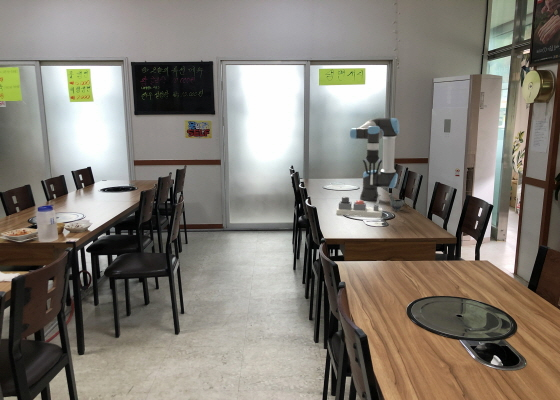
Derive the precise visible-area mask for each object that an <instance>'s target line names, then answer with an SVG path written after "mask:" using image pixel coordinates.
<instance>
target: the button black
mask: <svg viewBox="0 0 560 400" xmlns="http://www.w3.org/2000/svg"><path fill="white" fill-rule="evenodd" d="M341 201H342V203H347V204H349V202H350V197H348V196H342V197H341Z"/></svg>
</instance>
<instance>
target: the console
mask: <svg viewBox="0 0 560 400" xmlns="http://www.w3.org/2000/svg"><path fill="white" fill-rule="evenodd" d="M346 214H349V215H348V216H354V215H361V216H360V217H371V218H372V217H373V218H374V217H375V218H382V215H383V208H382V207H379V204H378V206H376V204H374V205H373V207H371V206H370V207H368V206H367V202H364V204H356V201H354V202H353V205H352V201H349V204H347V203H342V200H339V203H338V207H337V209H336V214H335V215H339V216H341V215H342V216H347V215H346Z"/></svg>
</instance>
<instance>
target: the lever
mask: <svg viewBox="0 0 560 400" xmlns="http://www.w3.org/2000/svg"><path fill="white" fill-rule="evenodd" d="M380 199H381V194H379V195H378V199H377V201H376V202H375V205H376V206H378V205H379V202H380Z"/></svg>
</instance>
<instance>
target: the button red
mask: <svg viewBox="0 0 560 400" xmlns="http://www.w3.org/2000/svg"><path fill="white" fill-rule="evenodd" d="M364 201H365V200H361V199H359V200H356V201H355V202H356V204H364V203H365V202H364Z"/></svg>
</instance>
